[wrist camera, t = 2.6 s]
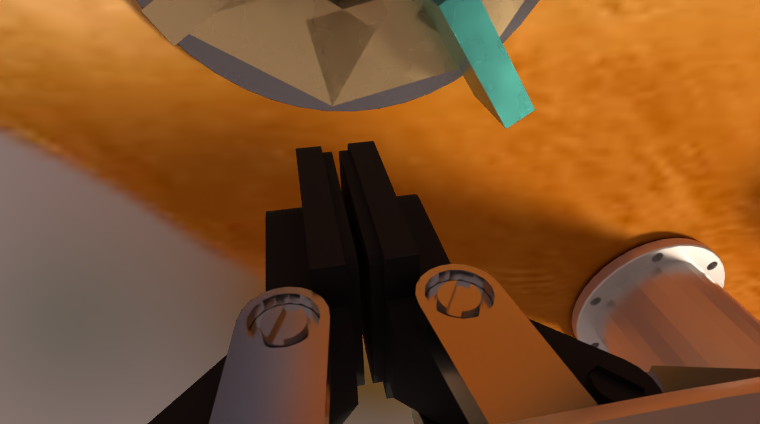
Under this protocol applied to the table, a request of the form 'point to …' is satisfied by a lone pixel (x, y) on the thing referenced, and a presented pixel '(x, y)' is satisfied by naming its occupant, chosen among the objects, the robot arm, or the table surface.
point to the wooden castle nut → (359, 43)
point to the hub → (288, 94)
